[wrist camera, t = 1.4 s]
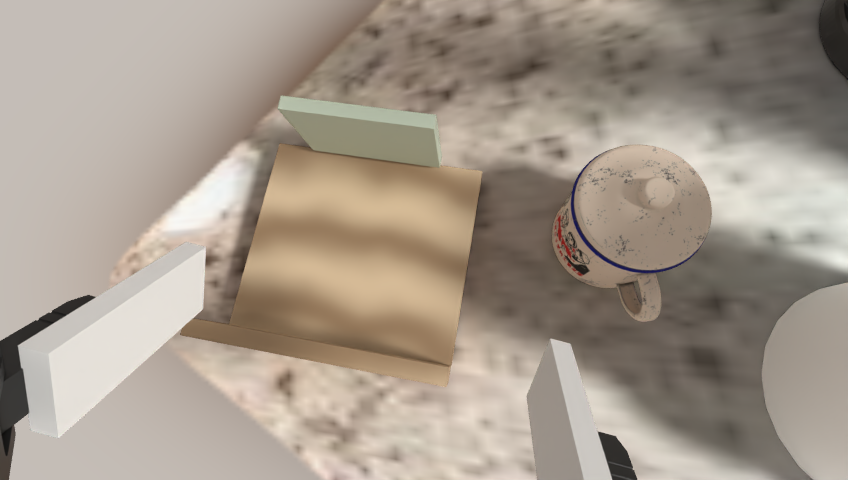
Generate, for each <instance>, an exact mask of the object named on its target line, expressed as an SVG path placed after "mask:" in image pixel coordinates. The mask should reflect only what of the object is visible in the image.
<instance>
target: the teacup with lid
mask: <svg viewBox="0 0 848 480" xmlns="http://www.w3.org/2000/svg"><path fill="white" fill-rule="evenodd" d="M711 215H712V212H711V201H710V197H709V194H708V191H707V189H706V186H705V184H704V182H703V181H702V179H701V178H700V176H699V175H698V173H697V172H696V171H695V170H694V169H693V168H692V167H691V166H690V165H689V164H688V163H687V162H686V161H684V160H683V159H681V158H680V157H678V156H677V155H675V154H673V153H671V152H669V151H667V150H664V149H661V148H658V147H654V146H648V145H626V146H620V147H617V148H614V149H611V150H608V151H606V152H604V153H602V154H600V155H598V156H597V157H595V158H594V159H593V160H591V161H590V162H589V163H588V164H587V165H586V166H585V167H584V168H583V170H582V171H581V172H580V174H579V175H578V177H577V179H576V181H575V184H574V186H573V190H572V192H571V194H570V195H569V197H568V198H567V200H566V201H565V203H564V204H563V206H562V207H561V208H560V210H559V211H558V213H557V215H556V217H555V220H554V223H553V227H552V244H553V248H554V251H555V254H556V256H557V258H558V260H559V261H560V263H561V264H562V266H563V267H564V268H565V269H566V270H567V271H568V272H569V273H570V274H571V275H572V276H574V277H575V278H576V279H578V280H580V281H582V282H584V283H586V284H588V285H592V286H595V287H601V288H615V287H617V289H618V293H619V296H620V299H621V302H622V304H623V306H624V308H625V310H626V311H627V313H628V314H629V315H630V316H631V317H632V318H633V319H635V320H637V321H640V322H646V321H652V320H654V319H656V318H657V317H658V316H659V313H660V310H661V292H660V287H659V283H658V279H657V275H656V273H657V272H663V271H666V270H670V269H672V268H675V267H677V266H679V265H681V264H683V263H684V262H686V261H687V260H688V259H690V258H691V257H692V256H693V255H694V254H695V253H696V252H697V251H698V249H699V248H700V247H701V245H702V244H703V242H704V240H705V238H706V236H707V234H708V231H709V228H710V223H711ZM636 280H638V283H639V287H640V291H641V298H642V304H641V303H640V301H639V299H638V296H637V294H636V290H635V287H634V283H633V282H634V281H636Z"/></svg>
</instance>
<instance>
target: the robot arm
mask: <svg viewBox="0 0 848 480" xmlns="http://www.w3.org/2000/svg"><path fill="white" fill-rule="evenodd" d="M820 34H821V38H822V42H823V45H824V47H825V49H826V52H827V53H828V55H829V57H830V59H831V60H832V62H833V63H834V64H835V66H836V67H837V68H838V69H839V70H840V71H841V72H842V73H843V74H844V75H845V76H846V77H847V78H848V0H826V1H825V3H824V5H823V7H822V10H821V15H820ZM205 256H206V247H204V246H200V245H197V244H193V243H189V242H185V243H183V244H182V245H180V246H179V247H177V248H175V249H174V250H172V251H170V252H169V253H167V254H166V255H164V256H162V257H161V258H159V259H157V260H156V261H154V262H153V263H151V264H149V265H148V266H146V267H144V268H143V269H141V270H140V271H138V272H136V273H135V274H133V275H131V276H130V277H128V278H127V279H125V280H123V281H122V282H120V283H118V284H117V285H115V286H114V287H112V288H110V289H109V290H107V291H105V292H104V293H102V294H101V295H99V296H97V297H93V296H90V295H87V296H83V297H80V298H77V299H74V300H71V301H68V302H66V303H64V304H63V305H61V306H59V307H58V308H56V309H54V310H53V311H52V312H51V313H47V314H46V315H44V316H42V317H41V318H39V320H38V321H36V320H35V321H34V322H32V323H30V324H29V325H27V326H25V327H24V328H22V329H20V330H18V331H17V332H15V333H13V334H11V335H10V336H8V337H6V338H5V339H3V340H1V341H0V480H9V475H10V467H11V461H12V455H13V448H14V441H15V428H14V424H15V423H17V422H18V421H19V420H21V419H22V418H23V417H24V416H26V415H27V414H28V417H29V423H30V430H31V431H34V432H38V433H41V434H45V435H48V436H52V437H55V438H59V437H61V436H62V435H63V434H64V433H65V432H66V431H67V430H68V429H69V428H71V426H73V425H74V424H75V423H76V422H77V421H78V420H80V419H81V418H82V417H83V416H84V415H85V414H86V413H87V412H88V411H89V410H91V409H92V408H93V407H94V406H95V405H96V404H97V403H98V402H100V401H101V400H102V399H103V398H104V397H105V396H106V395H108V394H109V393H110V392H111V391H112V390H113V389H114V388H115V387H116V386H118V385H119V384H120V383H121V382H122V381H123V380H124V379H125V378H127V377H128V376H129V375H130V374H131V373H132V372H133V371H134V370H136V369H137V368H138V367H139V366H140V365H141V364H142V363H143V362H144V361H146V360H147V359H148V358H149V357H150V356H151V355H152V354H153V353H155V352H156V351H157V350H158V349H159V348H160V347H161V346H162V345H163V344H165V343H166V342H167V341H168V340H169V339H170V338H171V337H172V336H174V335H175V334H176V333H177V332H178V331H179V330H180V329H181V328H183V327H184V326H185V325H186V324H187V323H188V322H189V321H190V320H191V319H193V318H194V317H195V316H196V315H197V314H198V313H199V312H200V311H202V310H203V301H204V278H205ZM527 403H528V411H529V419H530V427H531V434H532V442H533V450H534V458H535V466H536V473H537V480H637V477H636V475H635V472H634V470H633V466H632V464H631V461H630V458H629V455H628V453H627V451H626V450H625V448H624V447H623V446H622V444H621V443H620V442H619V440H618V439H617V438H616V436H613V435H609V434H605V433H602V432H598V431H597V428H596V425H595V422H594V418H593V415H592V412H591V409H590V405H589V402H588V399H587V395H586V392H585V389H584V386H583V382H582V379H581V376H580V373H579V369H578V366H577V363H576V360H575V356H574V353H573V350H572V347H571V344H569V343H566V342H562V341H558V340H554V339H551V338H550V340H549V342H548V345H547V347H546V350H545V352H544V355H543V357H542V360H541V362H540V365H539V367H538V369H537V372H536V374H535V377H534V379H533V382H532V384H531V387H530V389H529V391H528V394H527Z"/></svg>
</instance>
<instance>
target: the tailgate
mask: <svg viewBox="0 0 848 480" xmlns="http://www.w3.org/2000/svg"><path fill="white" fill-rule="evenodd" d="M278 110H279V111H280V112H281V113H282V114H283V116H284V117H285V118H286V119H287V120H288V121H289V123H290V124H291V125H292V126H293V127H294V128H295V130H296V131H297V132H298V133H299V134H300V135H301V137H302V138H303V139H304V140H305V141H306V142H307V144H308V145H309V146H310V147H311V148H312V149H313V150H315V151H322V152H329V153H336V154H344V155H351V156H358V157H365V158H372V159H380V160H387V161H394V162H401V163H408V164H416V165H423V166H430V167H437V168H440V164H441V158H442V154H441V147H440V139H439V131H438V124H437V116H436V115H433V114H425V113H417V112H409V111H401V110H393V109H385V108H377V107H369V106H361V105H353V104H345V103H337V102H329V101H321V100H313V99H305V98H297V97H289V96H281V97H280V101H279V105H278Z"/></svg>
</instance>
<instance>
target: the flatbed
mask: <svg viewBox="0 0 848 480" xmlns="http://www.w3.org/2000/svg"><path fill="white" fill-rule="evenodd" d="M481 179H482V171H477V170H470V169H463V168H456V167H448V166H441V165H440V168H437V167H430V166H423V165H416V164H408V163H401V162H394V161H387V160H380V159H372V158H365V157H358V156H351V155H344V154H336V153H329V152H322V151H315V150H313V149H312V148H311V147H303V146H296V145H289V144H282V143H280V144H279V147H278V151H277V155H276V158H275V162H274V165H273V169H272V172H271V176H270V179H269V183H268V187H267V190H266V194H265V197H264V201H263V204H262V208H261V211H260V215H259V219H258V222H257V226H256V229H255V233H254V236H253V240H252V243H251V247H250V251H249V254H248V258H247V261H246V265H245V268H244V272H243V275H242V279H241V283H240V286H239V290H238V293H237V297H236V300H235V304H234V307H233V311H232V315H231V318H230V322H229V324H226V323H220V322H213V321H207V320H201V319H194V318H193V319H191V320H190V321H189V322H188V323H187V324H186V325H185V326H184V327H183V328H182V330H181V333H180V335H182V336H188V337H193V338H198V339H203V340H208V341H213V342H218V343H223V344H228V345H234V346H239V347H244V348H249V349H254V350H259V351H264V352H269V353H275V354H280V355H285V356H290V357H295V358H300V359H305V360H310V361H316V362H321V363H326V364H331V365H336V366H341V367H346V368H351V369H357V370H362V371H367V372H372V373H377V374H382V375H387V376H392V377H397V378H403V379H408V380H413V381H418V382H423V383H428V384H433V385H438V386H444V387H446V386H447V384H448V381H449V375H450V369H451V365H452V359H453V353H454V347H455V340H456V334H457V328H458V322H459V316H460V309H461V303H462V297H463V291H464V285H465V278H466V272H467V266H468V260H469V254H470V248H471V241H472V235H473V229H474V223H475V217H476V210H477V204H478V198H479V192H480V186H481Z"/></svg>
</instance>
